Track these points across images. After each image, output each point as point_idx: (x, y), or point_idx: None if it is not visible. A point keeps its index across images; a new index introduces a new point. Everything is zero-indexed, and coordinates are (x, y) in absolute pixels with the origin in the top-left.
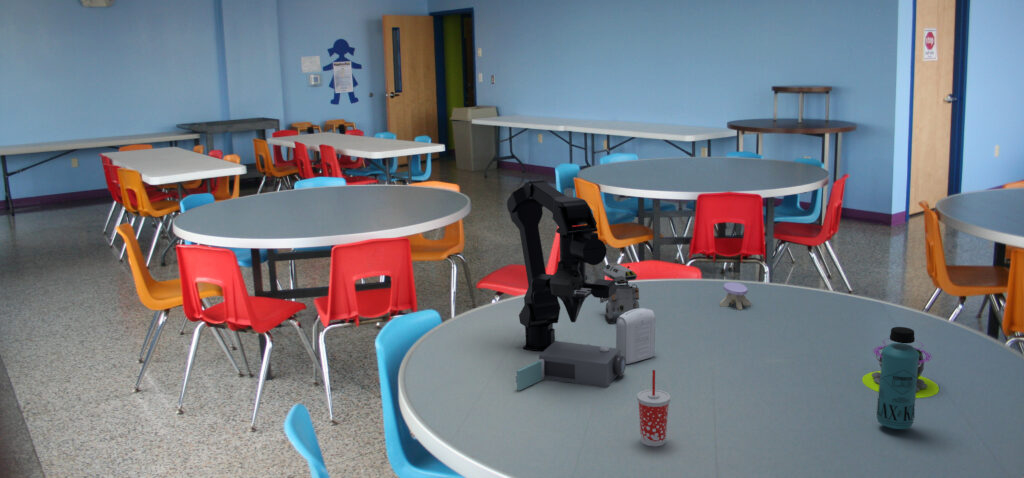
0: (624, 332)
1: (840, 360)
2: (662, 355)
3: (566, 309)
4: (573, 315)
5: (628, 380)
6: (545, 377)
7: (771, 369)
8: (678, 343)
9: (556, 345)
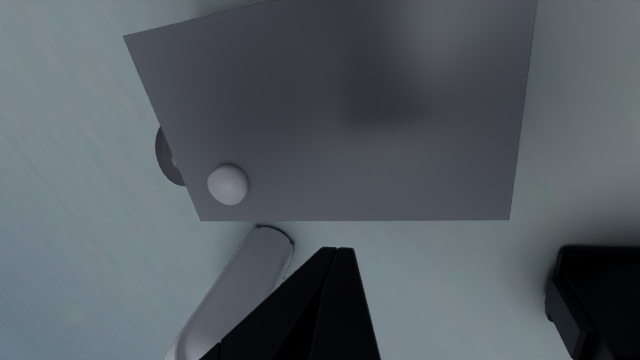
0: (208, 308)
1: (29, 330)
2: None
3: (373, 355)
4: (299, 288)
5: None
6: None
7: (50, 283)
8: None
9: (476, 162)
